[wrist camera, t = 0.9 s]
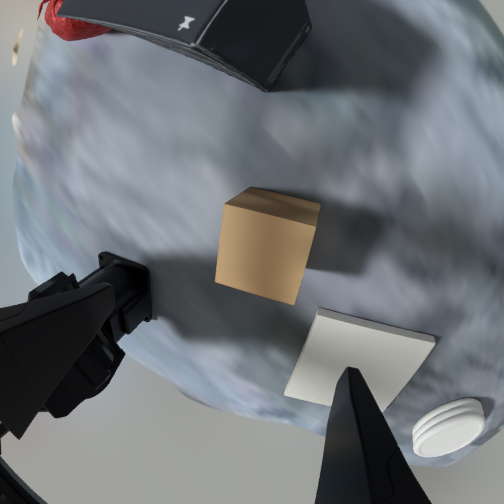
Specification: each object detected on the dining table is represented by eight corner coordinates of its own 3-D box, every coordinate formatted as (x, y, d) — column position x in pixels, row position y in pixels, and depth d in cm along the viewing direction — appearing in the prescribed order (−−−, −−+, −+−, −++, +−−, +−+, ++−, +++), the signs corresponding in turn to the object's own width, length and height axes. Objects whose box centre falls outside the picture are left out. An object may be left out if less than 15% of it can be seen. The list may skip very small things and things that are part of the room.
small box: (318, 23, 13) (294, -71, 4) (269, 95, 16) (195, 56, 7) (195, -17, 13) (111, -73, 4) (155, 46, 16) (50, 20, 7)
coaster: (407, 414, 24) (409, 438, 21) (483, 384, 20) (490, 407, 17) (415, 445, 26) (416, 464, 23) (478, 421, 22) (482, 441, 19)
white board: (285, 387, 26) (283, 394, 25) (318, 307, 21) (317, 314, 20) (380, 407, 24) (380, 414, 23) (433, 335, 19) (435, 343, 18)
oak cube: (240, 250, 21) (214, 282, 17) (250, 186, 19) (224, 203, 15) (304, 267, 20) (294, 305, 16) (320, 203, 18) (316, 227, 14)
